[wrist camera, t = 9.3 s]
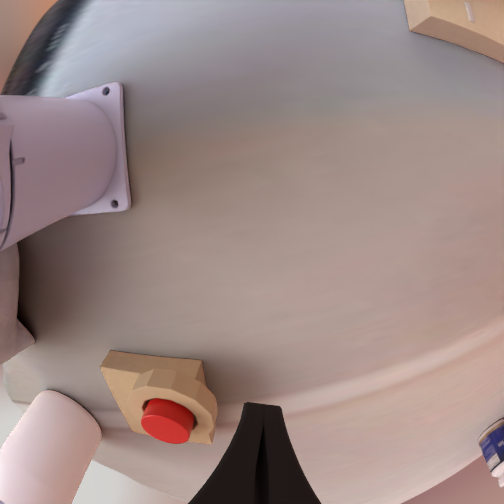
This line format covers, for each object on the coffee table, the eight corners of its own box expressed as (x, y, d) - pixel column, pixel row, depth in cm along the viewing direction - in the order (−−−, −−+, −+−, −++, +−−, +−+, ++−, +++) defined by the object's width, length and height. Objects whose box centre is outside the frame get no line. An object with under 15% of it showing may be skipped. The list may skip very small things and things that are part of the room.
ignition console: (138, 415, 25) (126, 445, 21) (107, 342, 21) (85, 374, 18) (228, 427, 24) (223, 461, 20) (216, 353, 21) (206, 392, 17)
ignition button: (154, 422, 19) (148, 439, 18) (141, 394, 18) (133, 411, 17) (198, 429, 19) (193, 447, 18) (189, 400, 18) (183, 419, 16)
